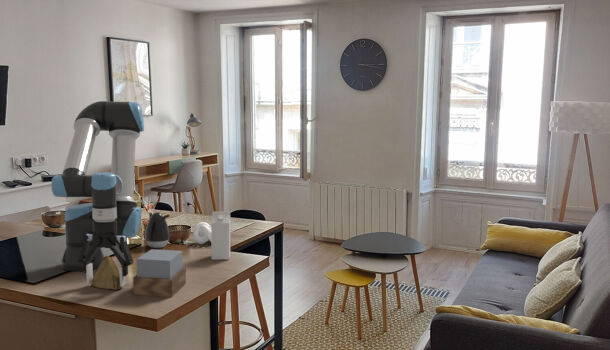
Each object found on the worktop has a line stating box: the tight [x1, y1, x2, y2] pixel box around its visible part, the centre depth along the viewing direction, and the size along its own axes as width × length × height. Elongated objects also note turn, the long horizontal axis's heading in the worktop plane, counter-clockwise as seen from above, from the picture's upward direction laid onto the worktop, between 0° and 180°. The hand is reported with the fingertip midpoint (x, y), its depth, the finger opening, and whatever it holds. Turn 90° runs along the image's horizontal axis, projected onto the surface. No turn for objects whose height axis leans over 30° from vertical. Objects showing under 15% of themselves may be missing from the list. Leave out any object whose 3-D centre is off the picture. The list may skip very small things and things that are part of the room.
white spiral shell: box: [192, 221, 211, 245], centre depth 237 cm, size 11×12×9 cm
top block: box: [136, 248, 184, 279], centre depth 176 cm, size 11×12×6 cm
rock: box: [90, 255, 123, 290], centre depth 176 cm, size 11×9×10 cm
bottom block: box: [132, 267, 187, 298], centre depth 176 cm, size 13×13×6 cm
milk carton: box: [210, 211, 231, 261], centre depth 214 cm, size 7×7×19 cm
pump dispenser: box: [144, 212, 170, 249], centre depth 228 cm, size 10×10×15 cm
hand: (106, 284), depth 176 cm, fingers closed on rock, 11 cm apart
